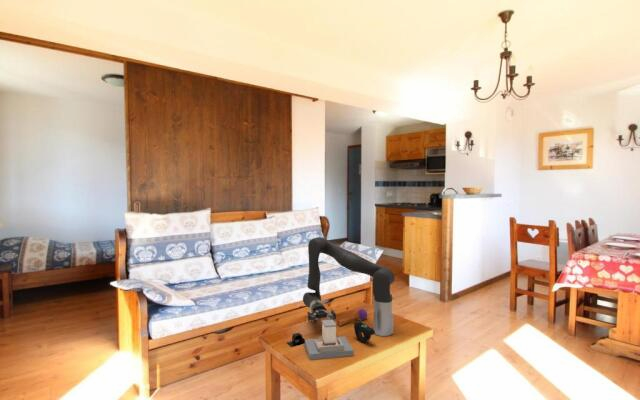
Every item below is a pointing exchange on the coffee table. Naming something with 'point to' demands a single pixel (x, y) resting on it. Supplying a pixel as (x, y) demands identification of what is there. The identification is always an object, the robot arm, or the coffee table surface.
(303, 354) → the coffee table surface
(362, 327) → the controller
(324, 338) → the box with lid
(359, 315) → the kendama
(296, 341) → the black notched block
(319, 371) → the coffee table surface
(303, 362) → the coffee table surface
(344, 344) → the dock
